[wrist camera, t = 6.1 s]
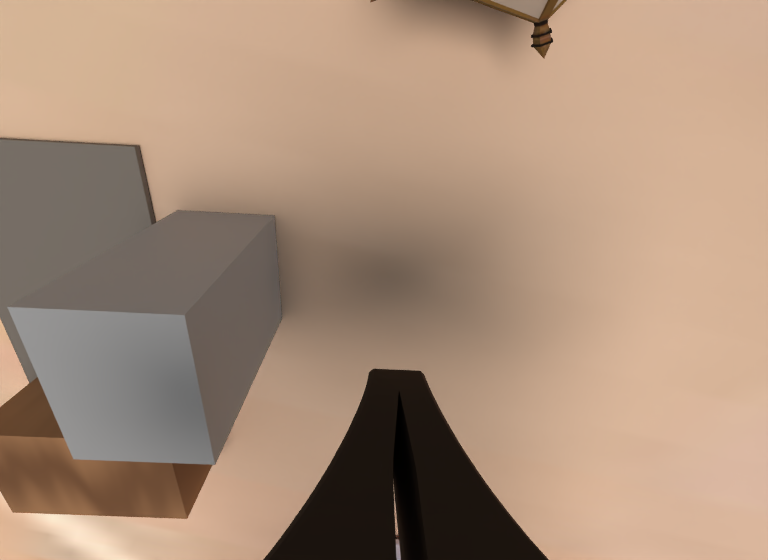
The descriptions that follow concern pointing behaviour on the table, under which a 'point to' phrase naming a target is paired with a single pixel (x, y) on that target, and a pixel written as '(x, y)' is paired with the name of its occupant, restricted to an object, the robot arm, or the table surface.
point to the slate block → (157, 337)
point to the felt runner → (63, 213)
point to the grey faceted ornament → (530, 17)
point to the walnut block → (82, 471)
